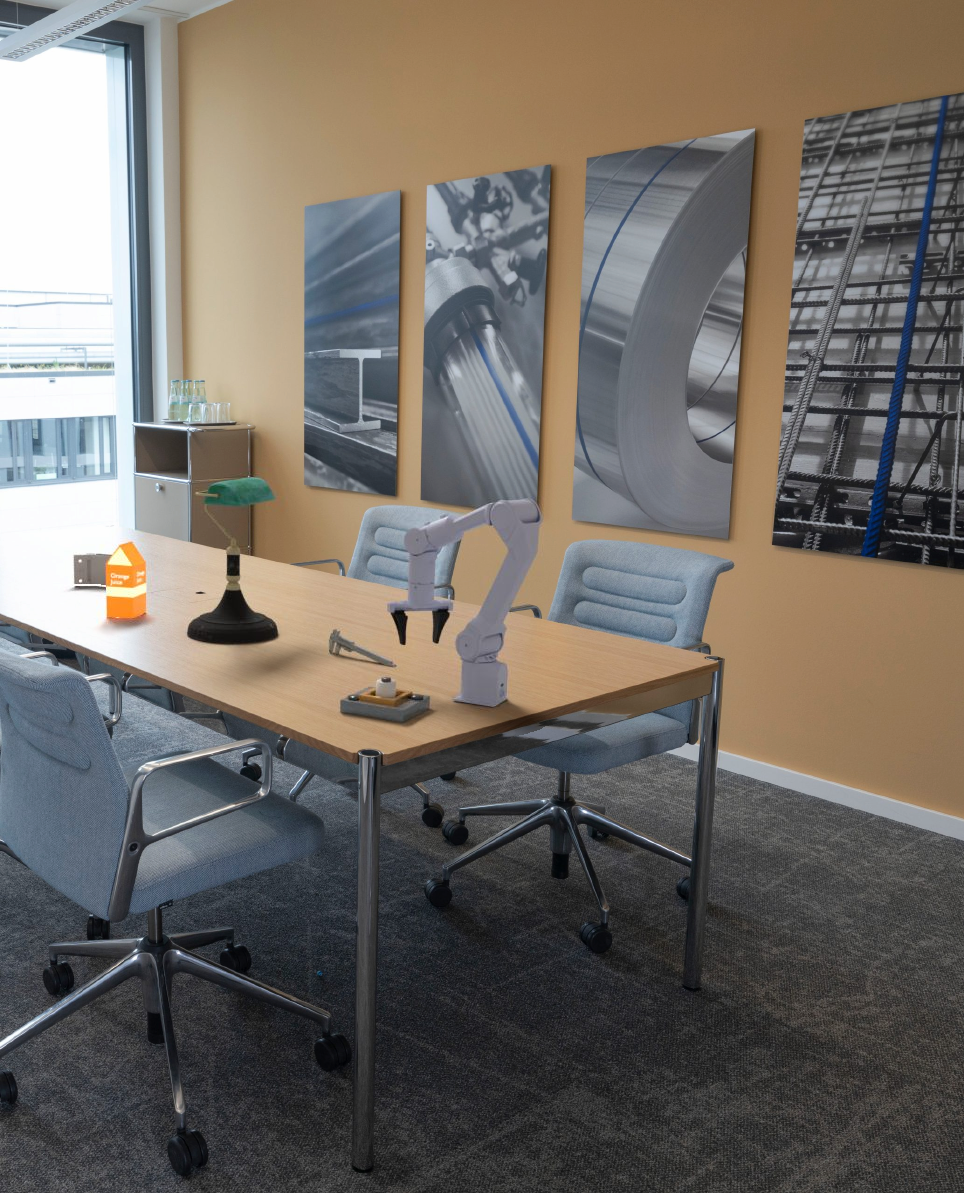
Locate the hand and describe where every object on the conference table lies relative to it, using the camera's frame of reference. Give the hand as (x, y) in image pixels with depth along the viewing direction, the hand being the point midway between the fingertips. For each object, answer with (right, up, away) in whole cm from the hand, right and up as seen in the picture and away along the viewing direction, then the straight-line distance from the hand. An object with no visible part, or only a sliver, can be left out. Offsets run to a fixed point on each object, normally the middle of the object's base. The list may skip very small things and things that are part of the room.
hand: (419, 643), depth 239 cm
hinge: (-106, +13, +100) cm, 146 cm away
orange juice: (-84, +5, +60) cm, 103 cm away
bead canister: (-6, -13, -18) cm, 23 cm away
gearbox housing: (-6, -13, -19) cm, 23 cm away
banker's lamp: (-51, 0, +43) cm, 67 cm away
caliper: (-15, -5, +23) cm, 28 cm away
